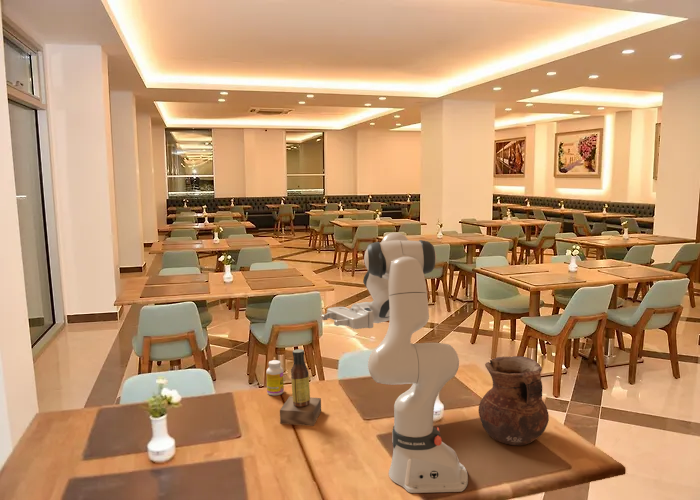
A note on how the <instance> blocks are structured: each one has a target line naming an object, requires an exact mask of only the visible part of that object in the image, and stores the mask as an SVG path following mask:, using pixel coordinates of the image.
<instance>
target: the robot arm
mask: <svg viewBox="0 0 700 500" xmlns="http://www.w3.org/2000/svg"><path fill="white" fill-rule="evenodd" d="M363 262H364V266H365V268H366V269H367V272H366V273H365V274H364V276H363V282H362V283H363V284H364V286H365V288H366V290H368V293H369V294H370V296H371V298H372V299H373V300H372V301H363V302H357V303H353V304H352V306H351V307H350V308H348V307H346V306H334V307H329V308H327V310H326V313H324V314H321V316H320V318H321V320H323V321H325V320H328V319H331V320H332V321H333V322H334V323H333V325H334V326H336V327H338V326H345V327H349V328H351V329H353V330H354V329H355V330H360V329H372V328H374V324H381V323H386V322H388V321H389V322H388V328H387V331H386V333H385V335H384V337H383V339H382V340H381V341H380V343H379V344H378V345H377V346H376V347H375V348H374V349H372V351H371V353H370V355H369V357H368V360H367V369H368V370H367V371H368V373H369V374H370V376H371V379H373V381H374V382H375V383H377V384H382V385H392V386H394V385H409V384H411V387H410V388H409V389H407V390H406V391H405V392H403V393H401V394H400V395H399V396H397V398H396V399H395V402H394V405H393V411H394V413H393V414H394V415H393V418H394V419H393V423H394V425H393V426H392V430H391V431H392V432H391V433H392V434H391V435H392V437H391V438H392V439H391V441H392V447H393V449H392V450H393V452H392V458H391V461H390V462H391V463H390V467H389V469H388V476H389V478H390V479H391V481H392V482H394V483H396V484H397V485H399V486H401V487H403V488H404V489H405V490H406V492H408V493H411V494H421V493H422V494H423V493H427V494H429V493H457V492H458V493H459V492H460V493H461V492H463V491H464V490H465V489H467V486H468V484H469V483H468V482H469V476H468V471H467V468H466V467H465V466H464V464H462V463H461V462H460V460H459V458H458V454H457V452H456V450H455V449H453V448H452V447H451V446H450V445H447V444H446V443H445V442H443V441H442V440H443V439H442V437H441V432H440V429H439V426H438V427H437V428H435V427H434V411H435V404H436V401H437V398H438V396H439V393H440V392H441V390H442V388H443V387H445V385H446V384H447V383H448V382H449V381H450V380H452V379H453V378H454V377H455V376H456V375H457V372H458V371H459V367H460V358H459V355H458V353H457V351H456V349H455V348H454V347H453V346H452V345H451V344H448V343H441V342H420V343H419V342H418V343H412V342H411V339H412V335H413V334H414V333H416V332H418V331H419V330H420V329H422V328H424V327H425V326H426V325H427V323H428V322H429V319H430V311H429V301H428V291H427V283H426V279H425V275H427V274H430V273H432V272H433V271H434V269H435V267H436V263H437V252H436V250H435V247H434V245H433V244H432V243H431V242H430V241H427V240H420V239H419V240H409V239H408V237H407V236H406V235H404V234H403V233H401V232H390V233H387V234H386V235H384V237H383V238H382V240H381V242H379V241H375V242H372V243H369V244H368V245H367V247H366V249H365V251H364V257H363Z"/></svg>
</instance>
